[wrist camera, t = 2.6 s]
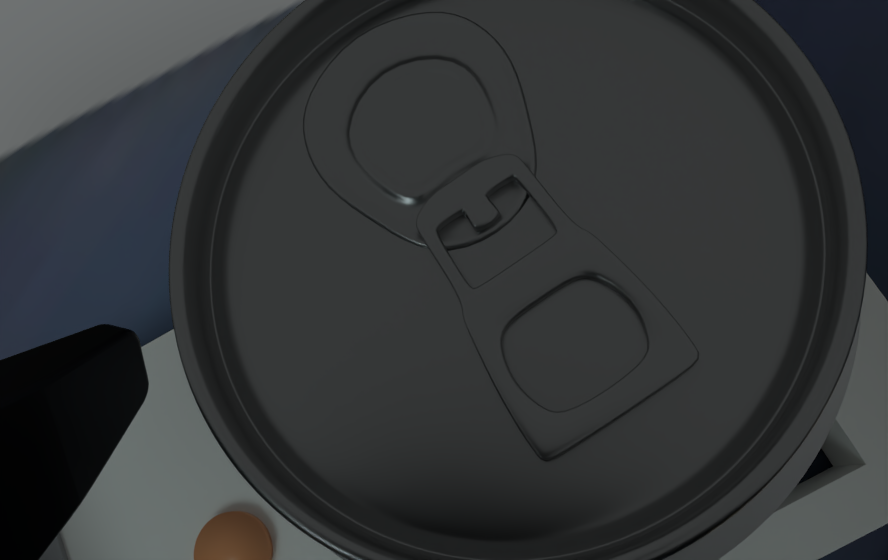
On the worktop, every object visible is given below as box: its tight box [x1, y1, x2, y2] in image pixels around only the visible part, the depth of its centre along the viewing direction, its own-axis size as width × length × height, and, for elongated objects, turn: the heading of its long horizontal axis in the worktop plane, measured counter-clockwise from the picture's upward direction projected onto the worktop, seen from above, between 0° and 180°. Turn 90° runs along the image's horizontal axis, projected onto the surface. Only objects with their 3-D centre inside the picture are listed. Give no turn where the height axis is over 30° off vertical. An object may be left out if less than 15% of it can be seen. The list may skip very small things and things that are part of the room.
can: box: [169, 0, 868, 560], centre depth 12 cm, size 6×6×12 cm
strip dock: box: [39, 273, 888, 560], centre depth 17 cm, size 10×24×2 cm, turn 118°
